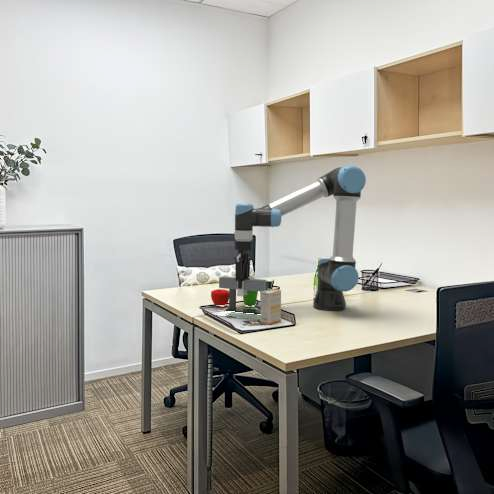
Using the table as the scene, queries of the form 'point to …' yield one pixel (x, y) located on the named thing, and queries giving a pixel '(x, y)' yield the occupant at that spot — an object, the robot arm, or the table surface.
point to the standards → (245, 310)
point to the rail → (248, 283)
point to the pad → (245, 315)
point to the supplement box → (270, 306)
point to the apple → (220, 296)
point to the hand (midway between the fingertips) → (242, 295)
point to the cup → (250, 298)
